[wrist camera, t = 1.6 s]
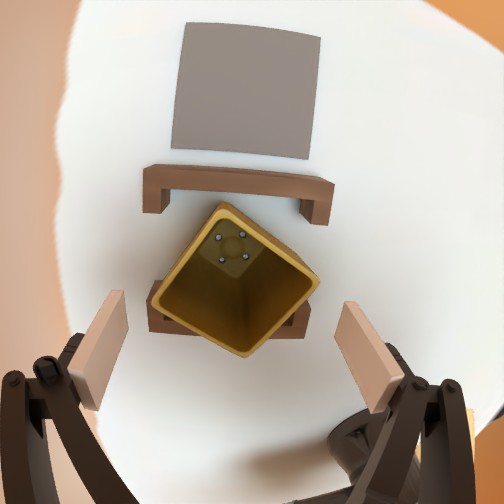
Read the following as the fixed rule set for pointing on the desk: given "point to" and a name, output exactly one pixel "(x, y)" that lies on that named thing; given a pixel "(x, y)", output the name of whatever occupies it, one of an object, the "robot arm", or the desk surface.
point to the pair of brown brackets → (236, 181)
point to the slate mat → (246, 90)
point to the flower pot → (235, 283)
